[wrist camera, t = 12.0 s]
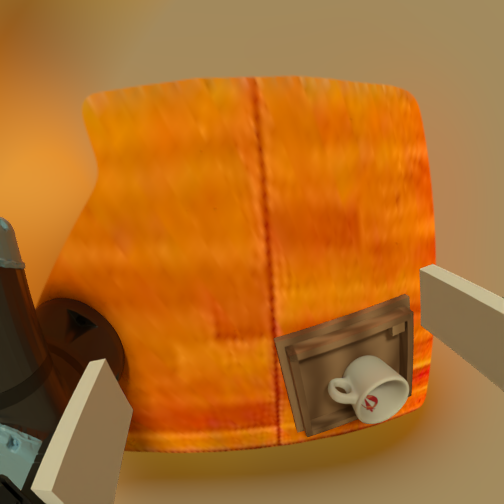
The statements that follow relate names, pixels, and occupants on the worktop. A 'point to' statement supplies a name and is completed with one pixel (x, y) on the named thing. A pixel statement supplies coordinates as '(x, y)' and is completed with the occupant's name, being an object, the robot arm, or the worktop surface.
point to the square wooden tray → (342, 359)
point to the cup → (371, 389)
